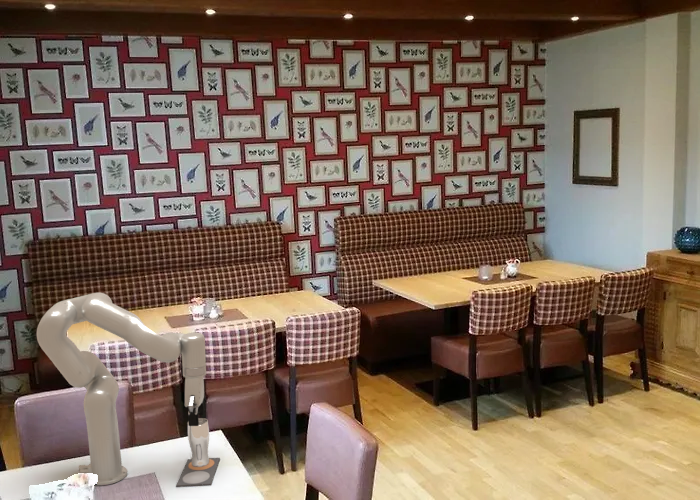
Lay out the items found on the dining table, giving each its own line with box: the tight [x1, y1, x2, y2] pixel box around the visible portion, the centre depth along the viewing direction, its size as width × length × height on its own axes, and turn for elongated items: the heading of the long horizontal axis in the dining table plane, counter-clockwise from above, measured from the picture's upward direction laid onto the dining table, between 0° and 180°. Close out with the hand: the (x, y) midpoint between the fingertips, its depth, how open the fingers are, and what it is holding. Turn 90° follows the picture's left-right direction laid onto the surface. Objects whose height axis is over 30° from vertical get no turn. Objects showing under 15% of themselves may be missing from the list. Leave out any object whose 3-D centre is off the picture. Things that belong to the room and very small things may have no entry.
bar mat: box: [175, 457, 221, 488], centre depth 235 cm, size 11×19×1 cm, turn 2°
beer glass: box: [187, 417, 210, 468], centre depth 238 cm, size 7×7×15 cm
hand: (196, 420), depth 237 cm, fingers open, 9 cm apart
